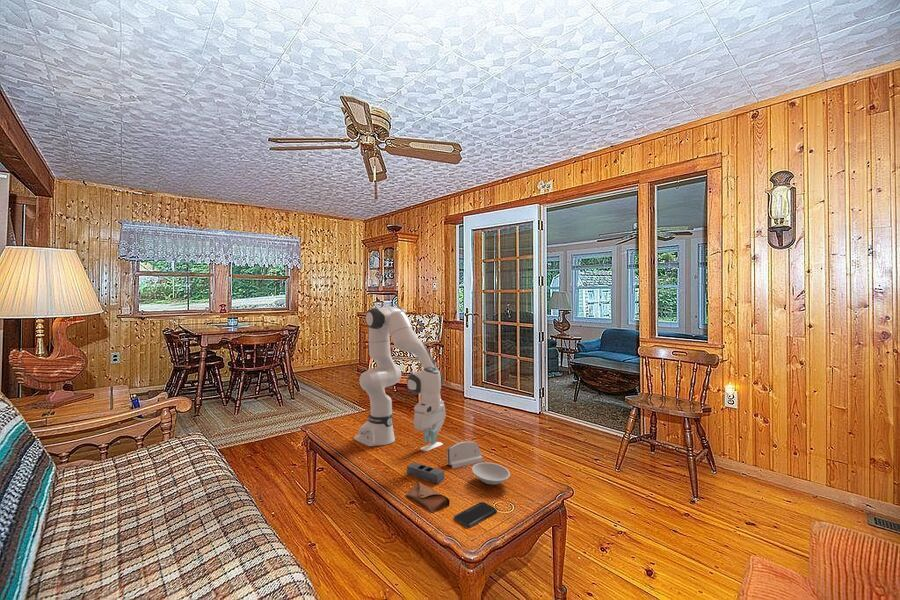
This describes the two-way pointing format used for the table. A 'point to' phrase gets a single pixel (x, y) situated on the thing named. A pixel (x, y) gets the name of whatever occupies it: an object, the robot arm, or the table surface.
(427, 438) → the pale teal plug block
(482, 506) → the phone
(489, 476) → the dish
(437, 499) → the sunglasses case
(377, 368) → the robot arm
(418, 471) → the grey rectangular block
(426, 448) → the heart sculpture
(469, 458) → the napkin holder
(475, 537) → the table surface
